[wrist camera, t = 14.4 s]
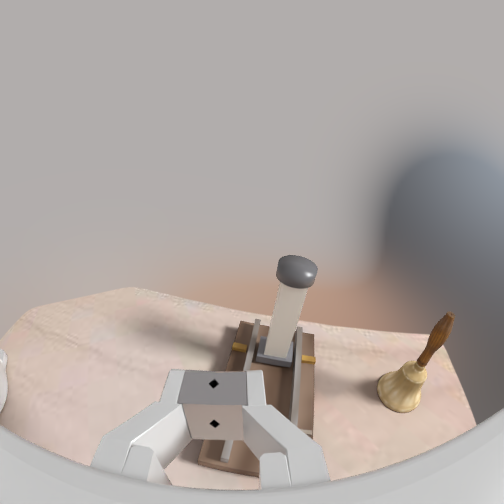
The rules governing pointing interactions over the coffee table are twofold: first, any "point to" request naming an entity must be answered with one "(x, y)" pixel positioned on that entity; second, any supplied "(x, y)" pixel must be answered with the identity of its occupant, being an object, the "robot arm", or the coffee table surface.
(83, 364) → the coffee table surface
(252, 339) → the fader track
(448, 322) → the hand bell
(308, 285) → the fader tab
